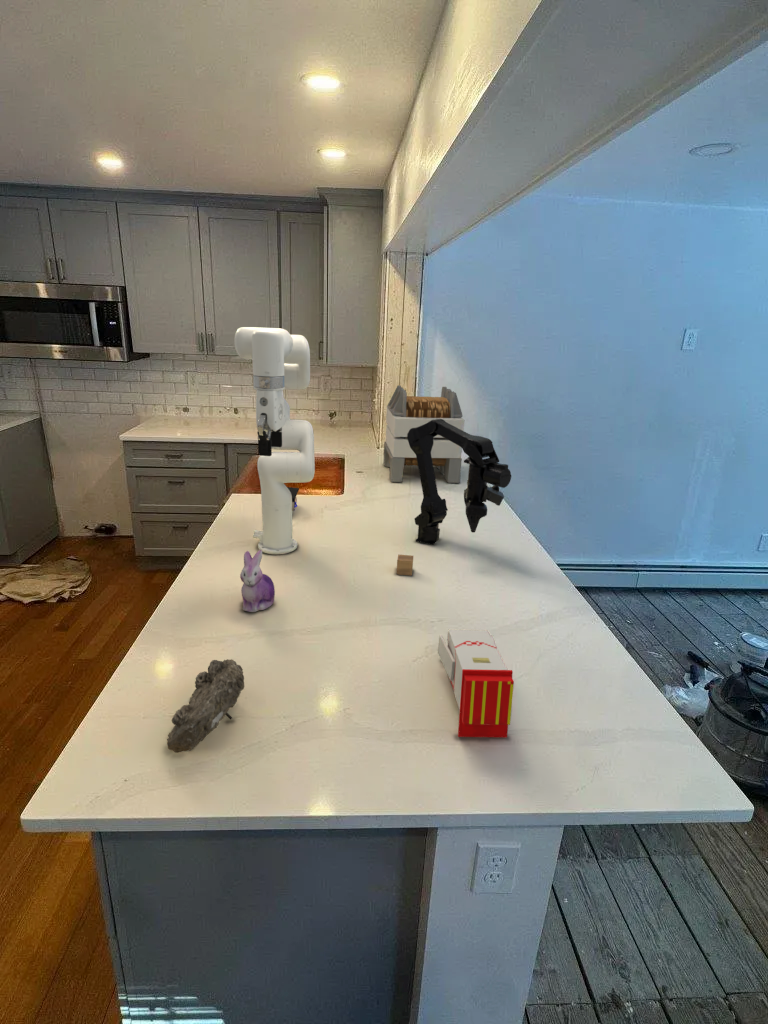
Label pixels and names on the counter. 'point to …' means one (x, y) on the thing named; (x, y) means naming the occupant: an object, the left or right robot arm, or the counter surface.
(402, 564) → the brown wooden cube
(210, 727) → the fossil
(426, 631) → the counter surface
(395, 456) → the transformer
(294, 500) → the figurine character
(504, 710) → the toy
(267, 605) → the figurine
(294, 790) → the counter surface
